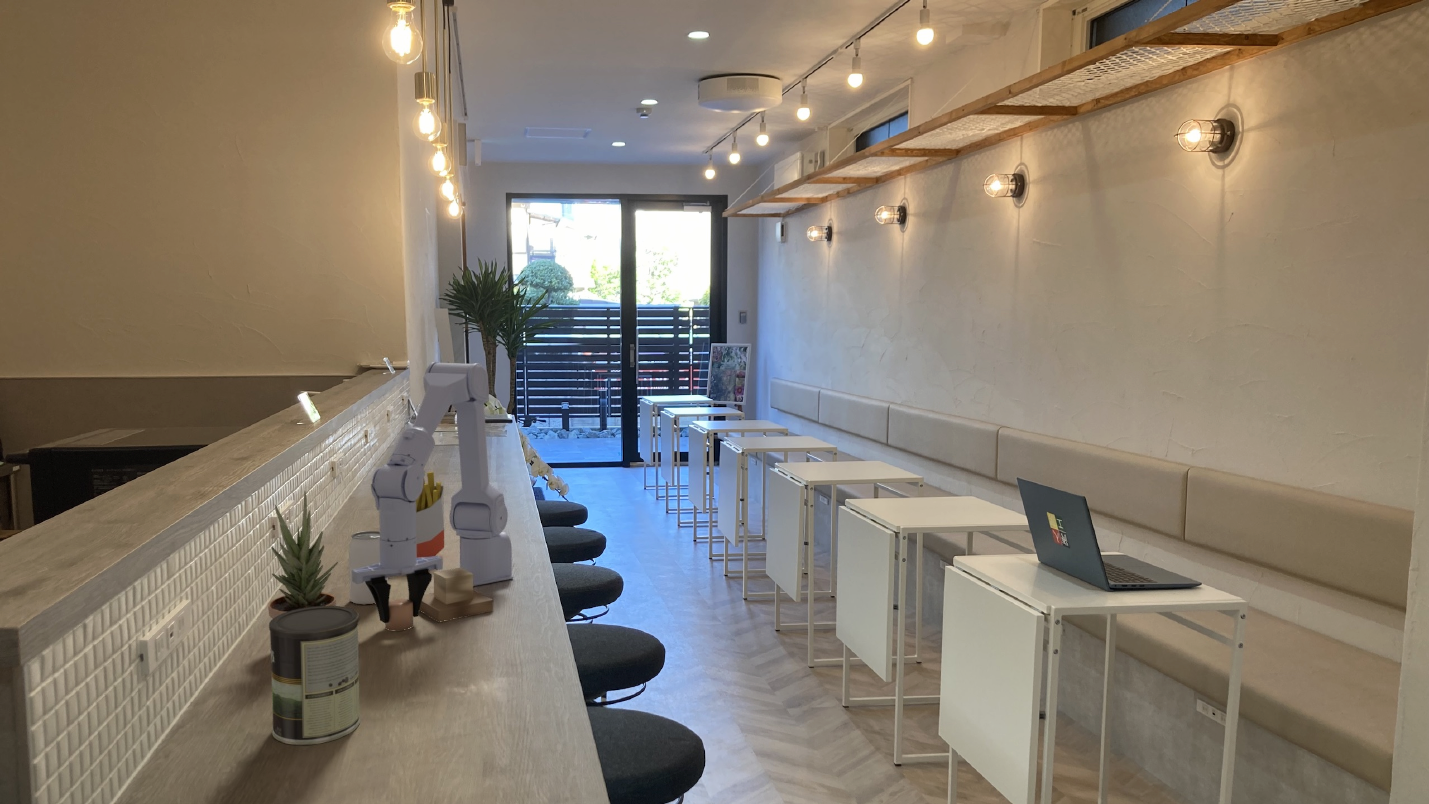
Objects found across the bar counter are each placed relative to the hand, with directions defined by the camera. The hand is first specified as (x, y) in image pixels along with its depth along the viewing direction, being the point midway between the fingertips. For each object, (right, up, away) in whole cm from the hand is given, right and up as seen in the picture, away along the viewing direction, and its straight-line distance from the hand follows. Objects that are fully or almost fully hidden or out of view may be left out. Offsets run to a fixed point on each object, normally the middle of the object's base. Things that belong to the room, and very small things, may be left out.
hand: (399, 618), depth 156 cm
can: (-10, 0, +14) cm, 17 cm away
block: (+6, +1, +9) cm, 11 cm away
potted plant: (-11, -2, -10) cm, 15 cm away
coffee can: (+2, -5, -37) cm, 38 cm away
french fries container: (-10, +3, +43) cm, 44 cm away
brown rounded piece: (0, -1, 0) cm, 1 cm away
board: (+6, -1, +10) cm, 11 cm away
